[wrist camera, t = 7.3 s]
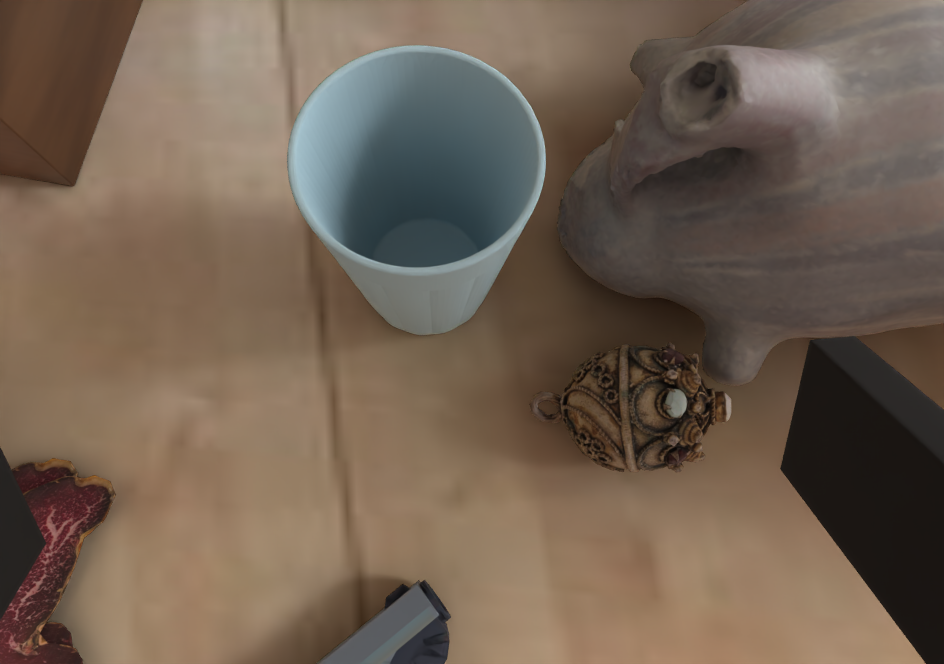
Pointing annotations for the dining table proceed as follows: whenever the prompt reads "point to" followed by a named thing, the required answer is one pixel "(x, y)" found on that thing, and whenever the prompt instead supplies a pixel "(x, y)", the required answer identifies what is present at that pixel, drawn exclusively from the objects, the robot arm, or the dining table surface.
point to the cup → (418, 179)
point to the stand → (56, 81)
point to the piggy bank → (776, 177)
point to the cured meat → (51, 559)
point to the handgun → (399, 632)
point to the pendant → (638, 408)
